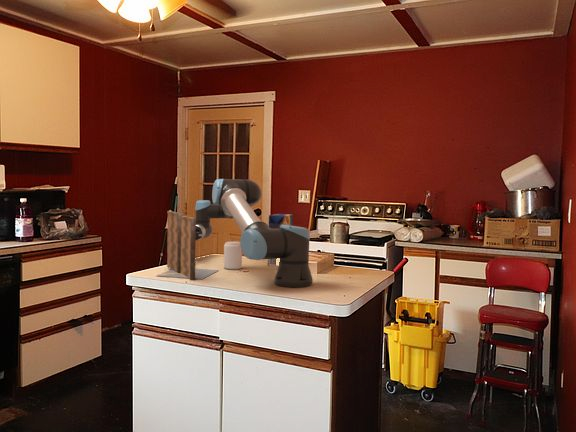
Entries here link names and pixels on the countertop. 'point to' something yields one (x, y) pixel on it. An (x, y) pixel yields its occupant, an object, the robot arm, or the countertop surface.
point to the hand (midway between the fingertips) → (175, 238)
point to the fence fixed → (186, 246)
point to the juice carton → (278, 227)
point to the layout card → (198, 275)
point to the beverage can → (232, 255)
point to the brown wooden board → (172, 240)
